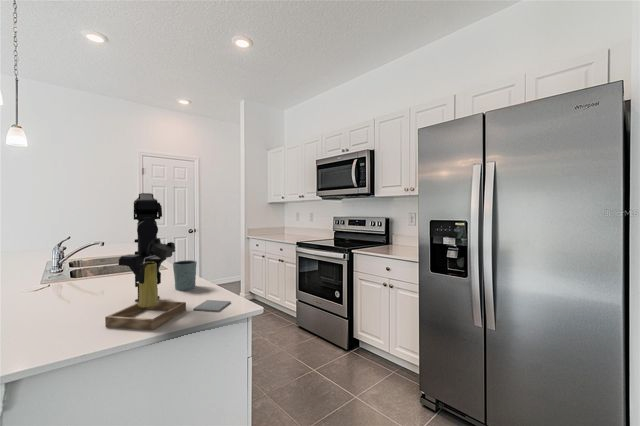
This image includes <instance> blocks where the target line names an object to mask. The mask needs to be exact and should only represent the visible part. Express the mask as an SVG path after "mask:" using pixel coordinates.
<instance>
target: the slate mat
mask: <svg viewBox="0 0 640 426" xmlns="http://www.w3.org/2000/svg"><path fill="white" fill-rule="evenodd" d="M230 304H231V301H230V300H218V299H217V300H214V299H206V300H204V301H203V302H201V303H199V304H198V305H197V306H195V307H193V309H192V311H198V312H199V311H200V312H214V313H216V312H217V313H218V312H221V310H223V309H224V308H225V307H227V306H228V305H230Z"/></svg>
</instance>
